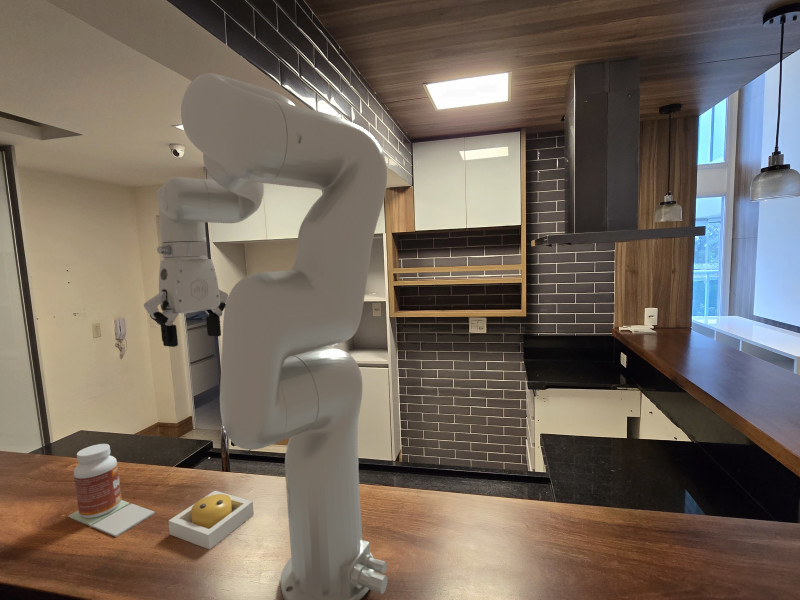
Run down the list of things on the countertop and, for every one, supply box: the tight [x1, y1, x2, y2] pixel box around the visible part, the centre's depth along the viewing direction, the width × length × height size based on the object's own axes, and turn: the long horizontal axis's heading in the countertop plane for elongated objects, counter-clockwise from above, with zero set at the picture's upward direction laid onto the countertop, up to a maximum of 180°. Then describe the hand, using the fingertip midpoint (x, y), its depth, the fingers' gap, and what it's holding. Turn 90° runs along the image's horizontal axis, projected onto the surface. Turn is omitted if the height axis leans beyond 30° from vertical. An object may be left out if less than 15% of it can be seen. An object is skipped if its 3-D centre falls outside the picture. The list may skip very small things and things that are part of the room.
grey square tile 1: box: [91, 503, 156, 538], centre depth 70 cm, size 6×6×1 cm
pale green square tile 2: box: [68, 499, 131, 527], centre depth 72 cm, size 6×6×1 cm
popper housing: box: [168, 490, 255, 550], centre depth 67 cm, size 9×9×2 cm
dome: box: [191, 494, 232, 529], centre depth 67 cm, size 6×6×3 cm
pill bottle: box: [73, 443, 123, 518], centre depth 72 cm, size 6×6×11 cm
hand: (193, 340), depth 79 cm, fingers open, 9 cm apart
